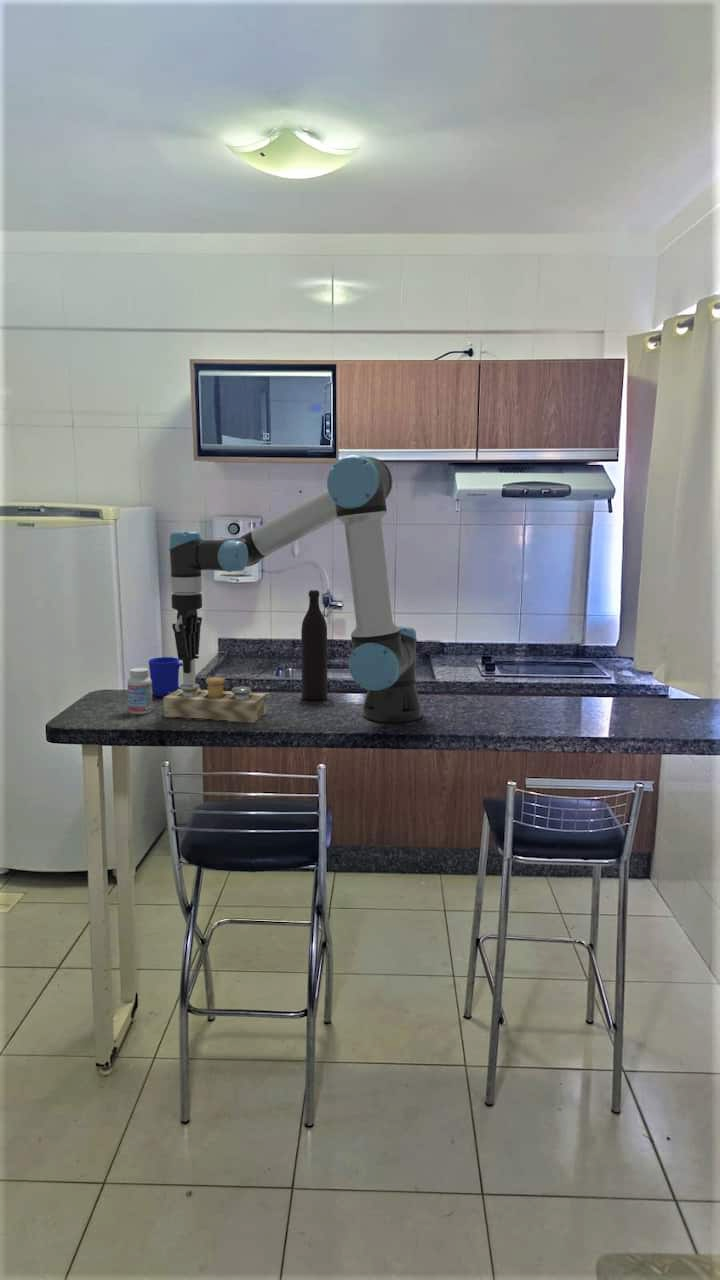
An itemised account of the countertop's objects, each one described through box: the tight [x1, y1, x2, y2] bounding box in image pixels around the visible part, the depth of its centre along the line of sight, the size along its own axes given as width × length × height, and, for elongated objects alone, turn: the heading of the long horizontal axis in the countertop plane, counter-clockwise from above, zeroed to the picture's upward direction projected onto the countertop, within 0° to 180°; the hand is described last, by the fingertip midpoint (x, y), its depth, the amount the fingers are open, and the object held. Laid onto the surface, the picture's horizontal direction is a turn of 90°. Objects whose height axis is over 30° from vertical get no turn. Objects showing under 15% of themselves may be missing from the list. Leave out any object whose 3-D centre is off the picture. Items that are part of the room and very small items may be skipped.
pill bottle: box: [126, 667, 154, 715], centre depth 206 cm, size 6×6×11 cm
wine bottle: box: [300, 589, 328, 702], centre depth 219 cm, size 7×7×30 cm
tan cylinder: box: [205, 676, 226, 698], centre depth 203 cm, size 5×5×7 cm
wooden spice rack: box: [162, 688, 268, 724], centre depth 204 cm, size 24×10×5 cm, turn 78°
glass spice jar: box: [231, 685, 252, 700], centre depth 202 cm, size 5×5×7 cm
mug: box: [148, 656, 183, 698], centre depth 223 cm, size 8×12×10 cm
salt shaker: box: [179, 683, 200, 697], centre depth 205 cm, size 5×5×7 cm
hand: (189, 684), depth 205 cm, fingers closed
